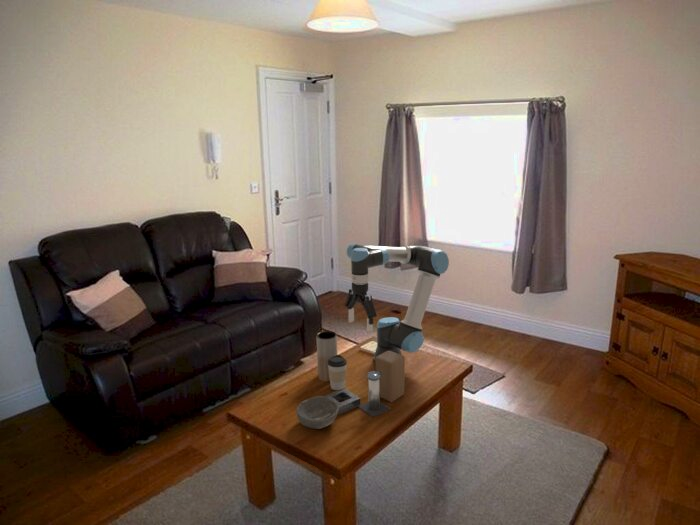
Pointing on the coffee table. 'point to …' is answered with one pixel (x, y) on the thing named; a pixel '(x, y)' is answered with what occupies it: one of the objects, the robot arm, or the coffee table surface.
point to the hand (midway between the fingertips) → (360, 326)
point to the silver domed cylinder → (374, 390)
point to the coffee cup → (337, 372)
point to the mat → (374, 413)
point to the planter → (325, 352)
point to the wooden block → (391, 375)
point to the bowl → (317, 412)
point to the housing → (344, 394)
